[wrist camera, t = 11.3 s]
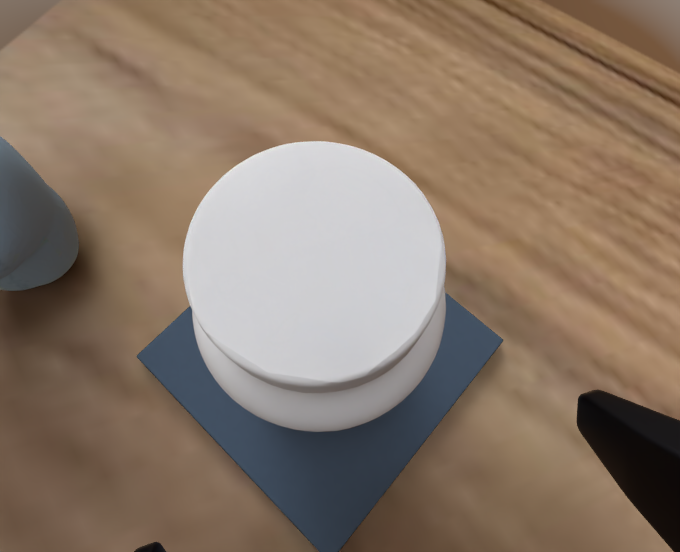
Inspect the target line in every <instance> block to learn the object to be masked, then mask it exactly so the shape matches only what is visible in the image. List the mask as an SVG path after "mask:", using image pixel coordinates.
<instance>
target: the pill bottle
mask: <svg viewBox="0 0 680 552" xmlns="http://www.w3.org/2000/svg"><path fill="white" fill-rule="evenodd" d="M445 274H446V253H445V244H444V239H443V234H442V231H441V228H440V225H439V222H438V219H437V217H436V215H435V213H434V211H433V209H432V207H431V206H430V204H429V202H428V200H427V199H426V198H425V196H424V195H423V193H422V192H421V190H420V189H419V188H418V187H417V186H416V185H415V183H414V182H413V181H412V180H410V179H409V178H408V177H407V176H406V175H405V174H404V173H403V172H401V171H400V170H399V169H397V168H396V167H395V166H394V165H392V164H390V163H389V162H387V161H386V160H384V159H382V158H380V157H378V156H376V155H374V154H372V153H370V152H367V151H365V150H362V149H359V148H356V147H353V146H349V145H345V144H339V143H333V142H323V141H312V142H296V143H290V144H285V145H281V146H277V147H274V148H271V149H268V150H265V151H263V152H260V153H258V154H256V155H253V156H251V157H250V158H248V159H246V160H245V161H243V162H241V163H240V164H238V165H236V166H235V167H234V168H232V169H231V170H230V171H229V172H227V173H226V174H225V175H224V176H223V177H222V178H221V179H220V180H218V181H217V183H216V184H215V185H214V186H213V187H212V188H211V189H210V191H209V192H208V193H207V194H206V196H205V197H204V199H203V200H202V202H201V203H200V205H199V207H198V209H197V210H196V212H195V214H194V216H193V218H192V221H191V223H190V226H189V230H188V233H187V237H186V241H185V245H184V254H183V278H184V283H185V289H186V294H187V297H188V300H189V303H190V306H191V309H192V318H193V326H194V332H195V337H196V341H197V344H198V347H199V350H200V353H201V355H202V358H203V360H204V362H205V364H206V366H207V368H208V369H209V371H210V372H211V374H212V376H213V377H214V379H215V380H216V382H217V383H218V384H219V385H220V387H221V388H222V389H223V390H224V391H225V392H226V393H227V394H228V395H229V396H230V397H231V398H232V399H233V400H234V401H235V402H237V403H238V404H239V405H241V406H242V407H243V408H245V409H246V410H248V411H249V412H251V413H252V414H254V415H256V416H257V417H260V418H262V419H264V420H266V421H268V422H271V423H273V424H276V425H279V426H282V427H286V428H290V429H294V430H301V431H312V432H330V431H339V430H345V429H350V428H353V427H356V426H359V425H362V424H364V423H367V422H369V421H372V420H374V419H375V418H378V417H379V416H381V415H383V414H384V413H386V412H388V411H389V410H391V409H392V408H394V407H395V406H396V405H398V404H399V403H400V402H402V401H403V400H404V399H405V398H406V397H407V396H408V395H409V394H410V393H411V392H412V391H413V390H414V389H415V388H416V386H417V385H418V384H419V383H420V382H421V380H422V379H423V378H424V376H425V374H426V373H427V371H428V370H429V368H430V366H431V364H432V362H433V360H434V358H435V356H436V354H437V351H438V348H439V346H440V342H441V338H442V334H443V329H444V323H445V315H446V300H445V288H444V283H445Z"/></svg>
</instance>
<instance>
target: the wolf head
mask: <svg viewBox="0 0 680 552" xmlns="http://www.w3.org/2000/svg"><path fill="white" fill-rule="evenodd" d="M78 250H79V241H78V234H77V229H76V225H75V222H74V219H73V217H72V215H71V213H70V211H69V209H68V208H67V206H66V204H65V203H64V201H63V200H62V199H61V197H60V196H59V195H58V194H57V193H56V192H55V191H54V190H53V189H52V188H50V187H49V186H48V185H47V184H46V183H45V182H44V180H43V179H42V178H41V177H40V176H39V174H38V173H37V172H36V171H35V170H34V169H33V168H32V167H31V165H30V164H29V163H28V162H27V161H26V160H25V159H24V158H23V157H22V156H21V155H20V154H19V153H18V152H17V151H16V150H15V149H14V148H13V147H12V146H11V145H10V144H9V143H8V142H7V141H6V140H4V139H3V138H2V137H0V289H1V290H8V291H18V290H26V289H31V288H34V287H37V286H41V285H45V284H48V283H51V282H53V281H55V280H57V279H58V278H60V277H61V276H62V275H64V274H65V273H66V272H67V271H68V270H69V269H70V267H71V266H72V265H73V263H74V262H75V260H76V258H77V255H78Z"/></svg>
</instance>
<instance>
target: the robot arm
mask: <svg viewBox="0 0 680 552" xmlns="http://www.w3.org/2000/svg"><path fill="white" fill-rule="evenodd" d="M577 426H578V429H579V431H580V432H581V434H582V435H583V437H584V438H585V440H586V441H587V442H588V444H589V445H590V447H591V448H592V449H593V451H594V452H595V453H596V455H597V456H598V458H599V459H600V460H601V462H602V463H603V465H604V466H605V467H606V469H607V470H608V472H609V473H610V474H611V476H612V477H613V478H614V480H615V481H616V483H617V484H618V485H619V487H620V488H621V489H622V491H623V492H624V493H625V495H626V496H627V497H628V499H629V500H630V501H631V502H632V503H633V505H634V506H635V507H636V508H637V509H638V511H639V512H640V513H641V514H642V515H643V516H644V518H645V519H646V520H647V521H648V522H649V523H650V524H651V526H652V527H653V528H654V529H655V530H656V531H657V533H658V534H659V535H660V536H661V537H662V538H663V539H664V541H665V542H666V543H667V544H668V545H669V546H670V548H671V549H672V550H673V551H674V552H680V421H679V420H677V419H674V418H672V417H669V416H666V415H664V414H661V413H659V412H656V411H653V410H651V409H648V408H646V407H643V406H641V405H638V404H635V403H633V402H630V401H628V400H625V399H623V398H620V397H617V396H615V395H612V394H610V393H607V392H604V391H602V390H592V391H589V392H587V393H584V394H581V395H580V396H579V398H578V408H577ZM134 552H166V551H165V549H164V548H163V546H162V545H161V544H160V543H158V542H153V543H151V544H148V545H145V546H142V547H139V548H138V549H136V550H135V551H134Z"/></svg>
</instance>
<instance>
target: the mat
mask: <svg viewBox="0 0 680 552" xmlns="http://www.w3.org/2000/svg"><path fill="white" fill-rule="evenodd" d="M445 300H446V315H445V323H444V329H443V334H442V338H441V342H440V346H439V348H438V351H437V354H436V356H435V358H434V360H433V362H432V364H431V366H430V368H429V370H428V371H427V373H426V374H425V376H424V378H423V379H422V380H421V382H420V383H419V384H418V385H417V386H416V388H415V389H414V390H413V391H412V392H411V393H410V394H409V395H408V396H407V397H406V398H405V399H404V400H403V401H402V402H400V403H399V404H398V405H396V406H395V407H394V408H392V409H391V410H389V411H388V412H386V413H384V414H383V415H381V416H379V417H378V418H375V419H374V420H372V421H369V422H367V423H364V424H362V425H359V426H356V427H353V428H350V429H345V430H339V431H330V432H312V431H301V430H294V429H290V428H286V427H282V426H279V425H276V424H273V423H271V422H268V421H266V420H264V419H262V418H260V417H257V416H256V415H254V414H252V413H251V412H249V411H248V410H246V409H245V408H243V407H242V406H241V405H239V404H238V403H237V402H235V401H234V400H233V399H232V398H231V397H230V396H229V395H228V394H227V393H226V392H225V391H224V390H223V389H222V388H221V387H220V385H219V384H218V383H217V382H216V380H215V379H214V377H213V376H212V374H211V372H210V371H209V369H208V368H207V366H206V364H205V362H204V360H203V358H202V355H201V353H200V350H199V347H198V344H197V341H196V337H195V332H194V326H193V318H192V309H191V306H190V307H189V308H187V309H186V310H185V311H184V312H183V313H182V314H181V315H180V316H179V317H178V318H177V319H176V320H175V321H173V322H172V323H171V324H170V325H169V326H168V327H167V328H166V329H165V330H164V331H163V332H162V333H161V334H159V335H158V336H157V337H156V338H155V339H154V340H153V341H152V342H151V343H150V344H149V345H148V346H147V347H145V348H144V349H143V350H142V351H141V352H140V353H139V354H138V355H137V358H138V359H139V360H140V361H141V362H142V363H143V364H144V365H145V366H146V368H147V369H148V370H149V371H150V372H151V373H152V374H153V375H154V376H155V377H156V378H157V379H158V380H159V381H160V382H161V383H162V385H163V386H164V387H165V388H166V389H167V390H168V391H169V392H170V393H171V394H172V395H173V396H174V397H175V398H176V399H177V401H178V402H179V403H180V404H181V405H182V406H183V407H184V408H185V409H186V410H187V411H188V412H189V413H190V414H191V415H192V416H193V418H194V419H195V420H196V421H197V422H198V423H199V424H200V425H201V426H202V427H203V428H204V429H205V430H206V431H207V432H208V434H209V435H210V436H211V437H212V438H213V439H214V440H215V441H216V442H217V443H218V444H219V445H220V446H221V447H222V448H223V449H224V451H225V452H226V453H227V454H228V455H229V456H230V457H231V458H232V459H233V460H234V461H235V462H236V463H237V464H238V465H239V467H240V468H241V469H242V470H243V471H244V472H245V473H246V474H247V475H248V476H249V477H250V478H251V479H252V480H253V481H254V482H255V484H256V485H257V486H258V487H259V488H260V489H261V490H262V491H263V492H264V493H265V494H266V495H267V496H268V497H269V498H270V500H271V501H272V502H273V503H274V504H275V505H276V506H277V507H278V508H279V509H280V510H281V511H282V512H283V513H284V514H285V516H286V517H287V518H288V519H289V520H290V521H291V522H292V523H293V524H294V525H295V526H296V527H297V528H298V529H299V530H300V531H301V533H302V534H303V535H304V536H305V537H306V538H307V539H308V540H309V541H310V542H311V543H312V544H313V545H314V546H315V547H316V549H317V550H318V551H319V552H339V550H340V549H341V548H342V547H343V545H344V544H345V543H346V542H347V540H348V539H349V538H350V536H351V535H352V534H353V533H354V531H355V530H356V529H357V527H358V526H359V525H360V524H361V522H362V521H363V520H364V518H365V517H366V516H367V515H368V513H369V512H370V511H371V510H372V508H373V507H374V506H375V504H376V503H377V502H378V501H379V499H380V498H381V497H382V495H383V494H384V493H385V492H386V490H387V489H388V488H389V486H390V485H391V484H392V483H393V481H394V480H395V479H396V478H397V476H398V475H399V474H400V472H401V471H402V470H403V469H404V467H405V466H406V465H407V463H408V462H409V461H410V460H411V458H412V457H413V456H414V454H415V453H416V452H417V451H418V449H419V448H420V447H421V446H422V444H423V443H424V442H425V440H426V439H427V438H428V437H429V435H430V434H431V433H432V431H433V430H434V429H435V428H436V426H437V425H438V424H439V422H440V421H441V420H442V419H443V417H444V416H445V415H446V414H447V412H448V411H449V410H450V408H451V407H452V406H453V405H454V403H455V402H456V401H457V399H458V398H459V397H460V396H461V394H462V393H463V392H464V391H465V389H466V388H467V387H468V385H469V384H470V383H471V382H472V380H473V379H474V378H475V376H476V375H477V374H478V373H479V371H480V370H481V369H482V367H483V366H484V365H485V364H486V362H487V361H488V360H489V359H490V357H491V356H492V355H493V353H494V352H495V351H496V350H497V348H498V347H499V346H500V344H501V343H502V342H503V339H502V338H500V337H499V336H498V335H497V334H495V333H494V332H493V331H492V330H491V329H489V328H488V327H487V326H486V325H484V324H483V323H482V322H481V321H480V320H478V319H477V318H476V317H475V316H473V315H472V314H471V313H470V312H469V311H467V310H466V309H465V308H464V307H462V306H461V305H460V304H459V303H458V302H456V301H455V300H454V299H453V298H451V297H450V296H449V295H448V294H447V293H445Z"/></svg>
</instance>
